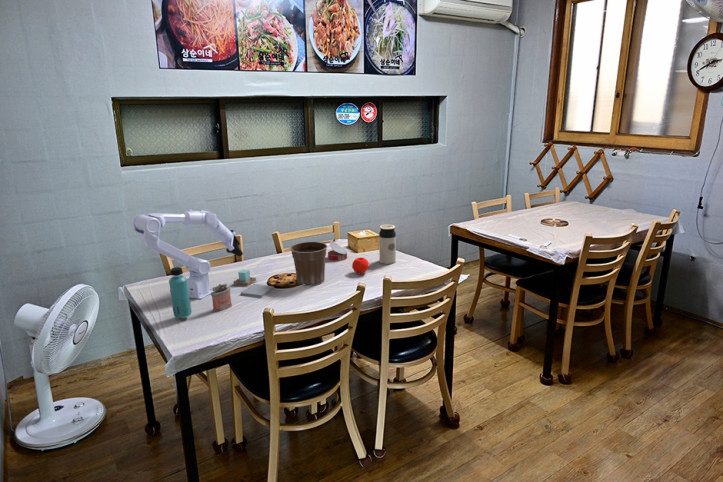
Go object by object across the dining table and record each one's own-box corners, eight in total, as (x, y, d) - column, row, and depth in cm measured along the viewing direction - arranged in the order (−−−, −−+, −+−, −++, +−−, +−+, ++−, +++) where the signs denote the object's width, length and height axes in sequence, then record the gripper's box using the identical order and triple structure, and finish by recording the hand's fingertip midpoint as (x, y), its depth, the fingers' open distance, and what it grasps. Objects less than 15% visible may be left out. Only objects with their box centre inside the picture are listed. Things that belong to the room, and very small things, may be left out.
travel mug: (377, 260, 240) (376, 225, 234) (392, 258, 242) (392, 223, 237) (382, 265, 232) (382, 229, 227) (398, 263, 235) (398, 227, 229)
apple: (372, 274, 220) (371, 259, 218) (355, 277, 218) (355, 261, 215) (365, 269, 227) (365, 254, 225) (349, 271, 225) (349, 256, 223)
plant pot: (287, 278, 218) (285, 244, 213) (320, 272, 225) (318, 239, 220) (299, 290, 204) (297, 254, 199) (334, 283, 211) (333, 248, 206)
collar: (247, 286, 209) (247, 283, 209) (233, 284, 212) (233, 281, 211) (256, 280, 216) (255, 277, 215) (242, 279, 218) (242, 276, 218)
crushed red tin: (228, 304, 192) (226, 280, 189) (233, 306, 190) (231, 282, 187) (211, 310, 186) (208, 287, 183) (216, 313, 184) (213, 289, 181)
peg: (246, 284, 212) (245, 273, 210) (239, 283, 213) (238, 272, 211) (250, 281, 215) (249, 270, 213) (243, 281, 216) (242, 269, 214)
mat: (261, 297, 198) (261, 295, 197) (241, 294, 201) (240, 292, 201) (274, 288, 206) (274, 286, 206) (254, 285, 210) (254, 283, 210)
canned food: (337, 263, 250) (342, 245, 251) (348, 266, 243) (354, 247, 244) (320, 257, 243) (325, 238, 244) (331, 260, 236) (337, 241, 237)
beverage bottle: (194, 314, 184) (188, 264, 178) (189, 321, 177) (182, 271, 171) (177, 314, 183) (170, 265, 178) (171, 322, 177) (163, 271, 171)
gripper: (231, 235, 200) (250, 254, 209) (225, 217, 210) (243, 235, 219) (217, 245, 200) (236, 263, 209) (212, 226, 210) (231, 244, 220)
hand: (239, 250), depth 214 cm, fingers open, 7 cm apart
